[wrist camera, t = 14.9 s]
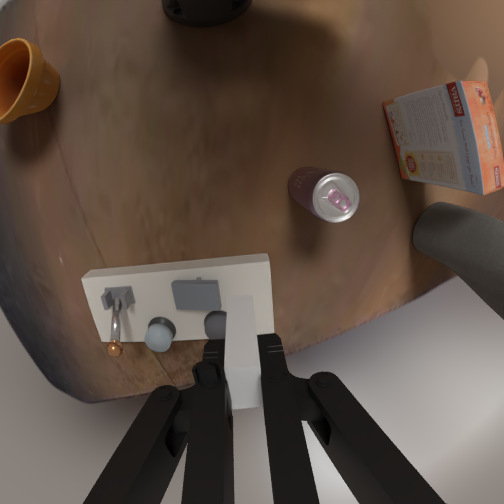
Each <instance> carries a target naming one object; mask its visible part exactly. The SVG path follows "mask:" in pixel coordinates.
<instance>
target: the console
mask: <svg viewBox="0 0 504 504" xmlns="http://www.w3.org/2000/svg"><path fill="white" fill-rule="evenodd" d="M81 280H82V283H83V287H84V290H85V293H86V297H87V300H88V303H89V306H90V309H91V312H92V315H93V318H94V321H95V324H96V327H97V329H98V332H99V335H100V337H101V340H102V342H110V337H111V321H112V308H113V300H114V298H116V297H119V298H120V299H121V302H122V315H121V332H120V342H145V340H144V337H145V334H146V332H147V330H148V328H149V327H150V326H151V325H153V324H163V325H165V326H167V327H168V328H169V329H170V330H171V332H172V335H173V338H172V341H178V340H197V339H209V338H208V337H207V336H206V334H205V323H206V319H207V317H208V316H209V315H211V314H213V313H217V312H219V313H224V314H226V315H227V299H228V297H231V296H242V295H252V297H253V306H254V315H255V324H256V332H257V335H259V334H268V333H274V319H273V303H272V288H271V273H270V261H269V257H268V254H267V253H260V254H250V255H240V256H230V257H220V258H210V259H199V260H189V261H179V262H168V263H158V264H148V265H137V266H127V267H116V268H106V269H95V270H90V271H89V272H88V273H87V274H86V275H84V276H83V277H82V278H81ZM174 280H218V284H219V291H220V298H221V305H222V307H221V309H220V311H205V310H177V309H176V306H175V301H174V296H173V292H172V287H171V283H172V282H173V281H174Z"/></svg>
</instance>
